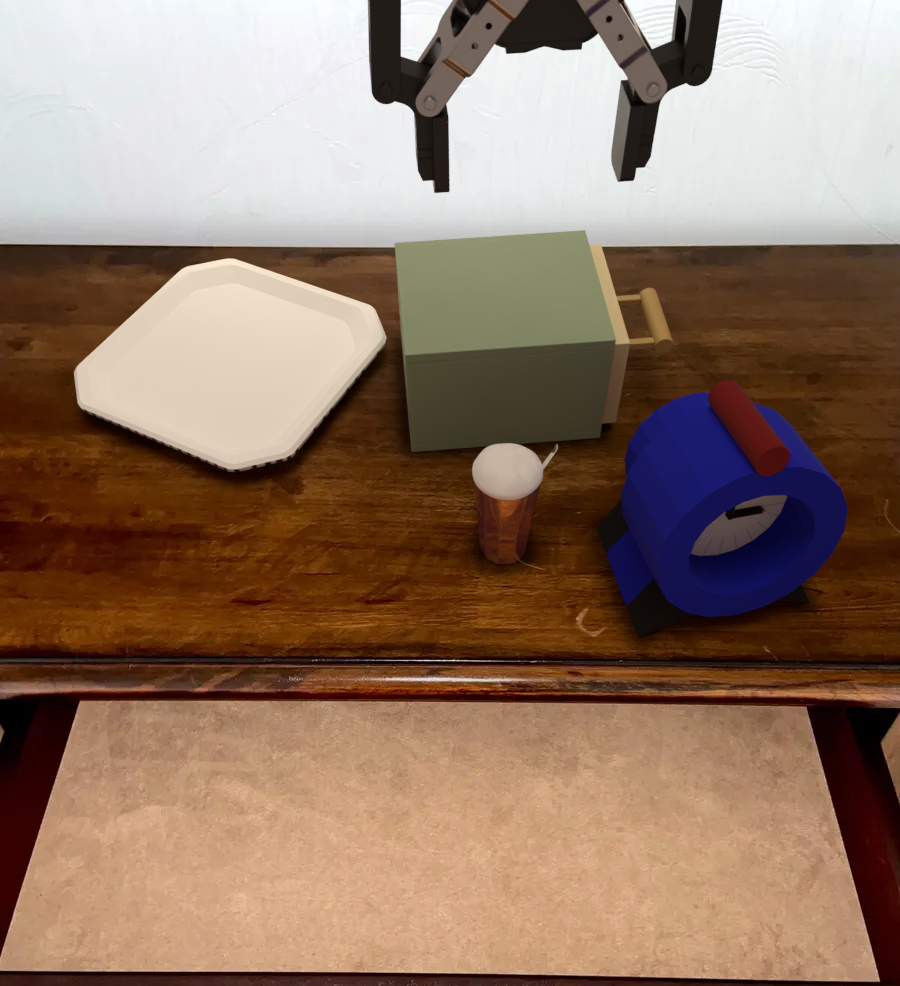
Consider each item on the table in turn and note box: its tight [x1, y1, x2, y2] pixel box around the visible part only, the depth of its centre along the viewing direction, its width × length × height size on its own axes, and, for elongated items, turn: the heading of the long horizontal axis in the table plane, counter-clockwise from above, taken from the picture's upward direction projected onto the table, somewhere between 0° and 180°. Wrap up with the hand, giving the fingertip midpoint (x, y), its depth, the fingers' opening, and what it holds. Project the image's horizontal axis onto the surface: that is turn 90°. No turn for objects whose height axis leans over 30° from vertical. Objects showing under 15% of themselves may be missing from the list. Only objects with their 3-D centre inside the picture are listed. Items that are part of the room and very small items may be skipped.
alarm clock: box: [596, 379, 848, 638], centre depth 60 cm, size 12×12×15 cm
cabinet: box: [394, 229, 616, 453], centre depth 72 cm, size 15×13×10 cm
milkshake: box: [471, 443, 559, 566], centre depth 63 cm, size 4×5×10 cm
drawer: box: [589, 243, 674, 425], centre depth 73 cm, size 18×11×8 cm, turn 95°
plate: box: [73, 258, 388, 473], centre depth 77 cm, size 21×21×2 cm
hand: (531, 177), depth 44 cm, fingers open, 8 cm apart
